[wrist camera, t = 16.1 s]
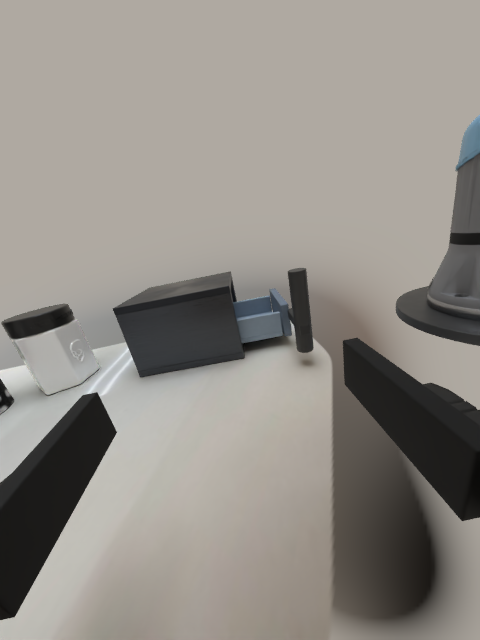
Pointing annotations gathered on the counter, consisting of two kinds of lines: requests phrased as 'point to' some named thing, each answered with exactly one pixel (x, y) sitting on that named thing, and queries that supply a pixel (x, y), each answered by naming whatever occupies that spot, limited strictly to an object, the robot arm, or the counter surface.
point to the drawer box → (182, 325)
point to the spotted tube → (4, 398)
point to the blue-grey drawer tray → (278, 314)
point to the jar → (52, 347)
